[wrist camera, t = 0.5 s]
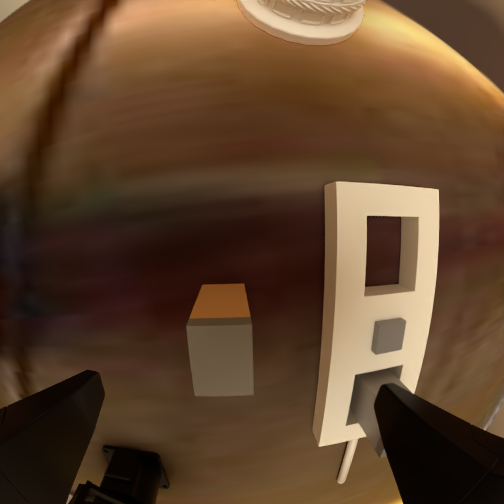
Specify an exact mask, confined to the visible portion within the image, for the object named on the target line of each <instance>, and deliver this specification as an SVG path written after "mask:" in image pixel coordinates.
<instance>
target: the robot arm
mask: <svg viewBox="0 0 504 504" xmlns="http://www.w3.org/2000/svg"><path fill="white" fill-rule="evenodd" d="M104 396H105V392H104V388H103V384H102V381H101V377H100V374H99V373H98V372H96V371H91V370H85V371H83V372H81V373H79V374H77V375H75V376H73V377H71V378H68V379H66V380H64V381H62V382H60V383H58V384H55V385H53V386H51V387H49V388H47V389H44V390H42V391H40V392H38V393H35V394H33V395H31V396H29V397H26V398H24V399H22V400H20V401H17V402H15V403H13V404H10V405H8V406H7V407H3V408H1V409H0V504H66V502H67V499H68V496H69V494H70V491H71V488H72V486H73V483H74V480H75V478H76V475H77V472H78V470H79V467H80V465H81V462H82V460H83V457H84V455H85V452H86V450H87V448H88V445H89V443H90V440H91V438H92V435H93V433H94V430H95V427H96V423H97V420H98V416H99V413H100V410H101V407H102V403H103V400H104ZM374 411H375V415H376V419H377V423H378V427H379V431H380V436H381V440H382V443H383V447H384V450H385V452H386V455H387V458H388V461H389V463H390V466H391V469H392V472H393V475H394V478H395V481H396V483H397V486H398V489H399V492H400V495H401V498H402V501H403V504H504V438H502V437H499V436H496V435H494V434H491V433H489V432H487V431H485V430H483V429H480V428H478V427H476V426H474V425H471V424H470V423H468V422H466V421H464V420H462V419H460V418H458V417H456V416H454V415H452V414H451V413H449V412H447V411H445V410H443V409H441V408H439V407H437V406H435V405H433V404H431V403H430V402H428V401H426V400H424V399H422V398H420V397H418V396H417V395H415V394H413V393H411V392H409V391H407V390H406V389H404V388H402V387H400V386H398V385H397V384H395V383H385V384H382V385H381V386H380V388H379V391H378V393H377V396H376V399H375V401H374ZM102 451H103V454H104V456H105V458H106V460H107V462H108V466H107V469H106V471H105V473H104V477H103V480H102V482H101V485H100V487H98V486H96V485H94V484H92V482H90V481H88V480H87V482H86V484H79V485H78V487H77V489H76V492H75V494H74V495H73V497H72V499H71V500H70V502H69V503H68V504H156V499H157V494H158V489H159V488H164V489H168V488H169V486H170V484H169V482H168V479H167V477H166V474H165V471H164V469H163V466H162V463H161V460H160V457H159V455H157V454H155V453H148V452H140V451H133V450H126V449H120V448H115V447H109V446H103V448H102Z"/></svg>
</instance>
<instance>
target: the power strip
mask: <svg viewBox="0 0 504 504" xmlns="http://www.w3.org/2000/svg"><path fill="white" fill-rule="evenodd" d="M324 191H325V279H324V306H323V325H322V340H321V354H320V366H319V377H318V387H317V396H316V405H315V413H314V421H313V429H312V430H313V433H314V436H315V438H316V441H317V443H318V446H319V447H320V446H325V445H330V444H336V443H340V442H345V441H348V444H347V448H346V451H345V455H344V459H343V462H342V465H341V469H340V472H339V475H338V479H337V482H338V483H340V484H341V483H344V482H345V480H346V477H347V474H348V471H349V468H350V465H351V462H352V459H353V455H354V452H355V449H356V445H357V442H358V438H362V437H366V434H365V433H364V431H363V429H362V428H361V426H360V425H359V423H358V421H357V420H356V418H355V416H354V415H353V413H352V411H351V410H350V408H349V407H350V402H351V396H352V391H353V385H354V379H355V375H356V374H362V373H367V372H372V371H377V370H381V369H386V368H388V369H389V370H390V371H391V372H392V373H393V374H394V375H395V376H396V377H397V378H398V379H399V380H400V381H401V382H402V383H403V384H404V385H405V386H406V387H407V388H408V389H409V390H410V391H411V392H412V393H413V394H414V392H415V389H416V385H417V381H418V378H419V374H420V370H421V366H422V361H423V357H424V353H425V348H426V343H427V338H428V333H429V327H430V321H431V315H432V308H433V301H434V293H435V284H436V274H437V262H438V244H439V190H438V189H429V188H420V187H410V186H398V185H386V184H372V183H355V182H333V183H330V184H326V185H324ZM367 216H401V253H400V271H399V284H392V285H381V286H370V287H365V274H366V246H367Z"/></svg>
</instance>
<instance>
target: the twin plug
mask: <svg viewBox="0 0 504 504" xmlns="http://www.w3.org/2000/svg"><path fill="white" fill-rule="evenodd" d="M385 383H395V384H397V385H398V386H400V387H402V388H404V389H406V390H407V391H409V392H411V391H410V390H409V389H408V388H407V387H406V386H405V385H404V384H403V383H402V382H401V381H400V380H399V379H398V378H397V377H396V376H395V375H394V374H393V373H392V372H391V371H390V370H389V369H388V368H386V369H381V370H377V371H372V372H367V373H362V374H356V375H355V379H354V385H353V391H352V396H351V402H350V407H349V408H350V410H351V411H352V413H353V415H354V416H355V418H356V420H357V421H358V423H359V425H360V426H361V428H362V429H363V431H364V433H365V434H366V436H367V438H368V439H369V441H370V443H371V444H372V446H373V447H374V449H375V451H376V452H377V454H378V456H379V457H380V458H382V457H385V456H387V455H386V452H385V450H384V447H383V443H382V440H381V436H380V431H379V427H378V423H377V419H376V415H375V411H374V401H375V399H376V396H377V393H378V391H379V388H380V386H381V385H382V384H385ZM411 393H412V392H411Z"/></svg>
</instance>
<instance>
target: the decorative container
mask: <svg viewBox="0 0 504 504" xmlns="http://www.w3.org/2000/svg"><path fill="white" fill-rule="evenodd" d="M366 1H368V0H237V3H238V7H239V9H240V10H241V12H242V13H243V15H244V16H245V18H247V19H248V20H249V21H250V22H251V23H252V24H254V25H255V26H256V27H257V28H259V29H261V30H263V31H265V32H266V33H268V34H270V35H272V36H275V37H278V38H281V39H283V40H286V41H289V42H294V43H299V44H304V45H320V46H324V45H330V44H337V43H340V42H342V41H344V40H346V39H349V38H350V37H351V36H352V35H353V34H354V33H355V32H356V31H357V29H358V28H359V27H360V25H361V24H362V21H363V18H364V9H363V5H365V4H366Z"/></svg>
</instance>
